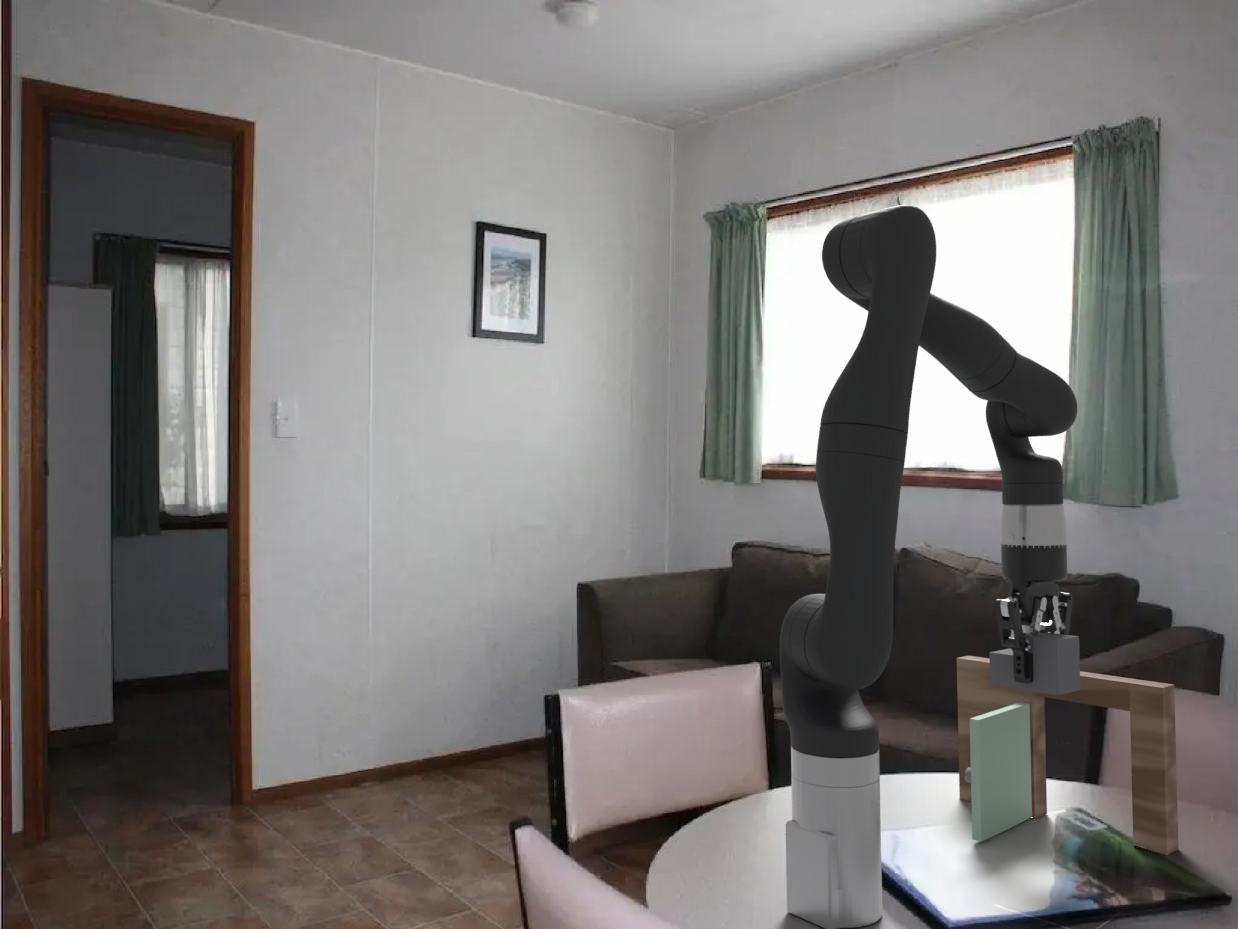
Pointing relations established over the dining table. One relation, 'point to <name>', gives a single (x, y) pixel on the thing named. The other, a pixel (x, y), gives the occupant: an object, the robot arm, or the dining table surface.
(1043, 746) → the wall frame
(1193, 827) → the dining table surface
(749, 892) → the dining table surface
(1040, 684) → the grey stepped block
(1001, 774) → the door
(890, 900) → the dining table surface
